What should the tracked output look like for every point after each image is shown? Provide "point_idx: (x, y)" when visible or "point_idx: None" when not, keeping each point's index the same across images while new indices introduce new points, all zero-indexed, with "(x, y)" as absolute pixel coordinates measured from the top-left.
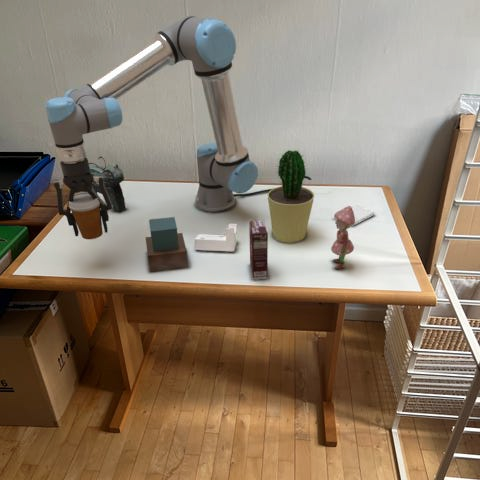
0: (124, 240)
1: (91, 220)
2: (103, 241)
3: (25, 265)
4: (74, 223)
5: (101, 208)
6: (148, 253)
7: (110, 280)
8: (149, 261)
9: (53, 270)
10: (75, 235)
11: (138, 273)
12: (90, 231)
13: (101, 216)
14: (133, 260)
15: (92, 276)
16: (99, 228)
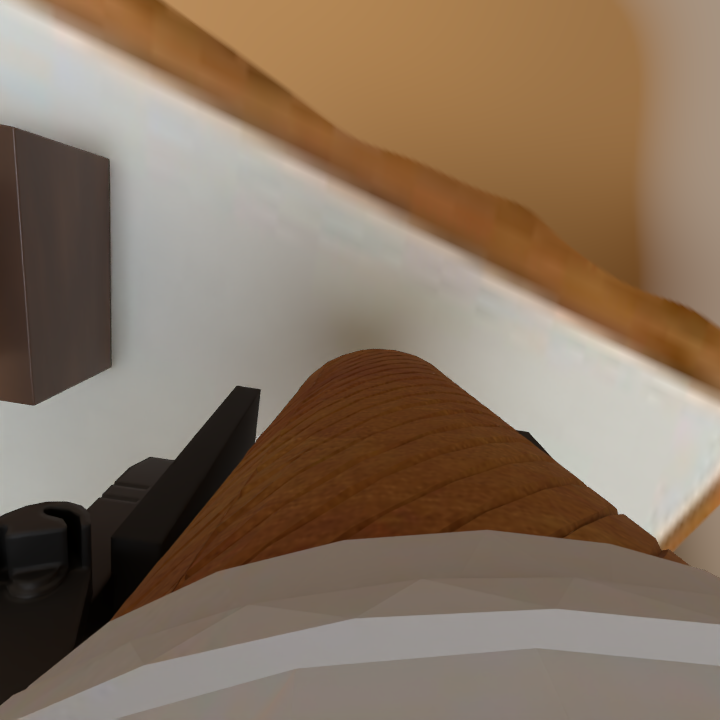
0: None
1: (363, 409)
2: None
3: (688, 482)
4: None
5: (54, 637)
6: (6, 157)
7: (338, 165)
8: (47, 138)
9: (588, 390)
10: (531, 436)
11: (177, 175)
12: (400, 367)
13: (185, 499)
14: (193, 326)
15: (423, 252)
16: (292, 401)
